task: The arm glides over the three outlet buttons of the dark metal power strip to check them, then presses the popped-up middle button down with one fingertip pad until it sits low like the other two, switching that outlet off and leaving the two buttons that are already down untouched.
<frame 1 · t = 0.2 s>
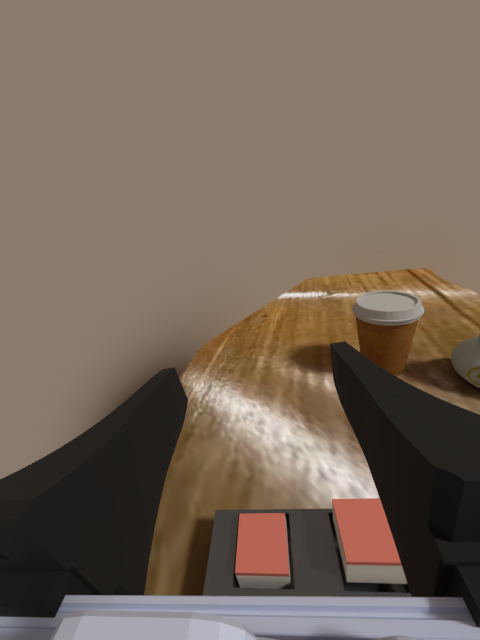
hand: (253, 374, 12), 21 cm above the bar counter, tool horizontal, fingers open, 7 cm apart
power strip: (375, 605, 19), on the bar counter
button c: (264, 550, 21), point 3 cm above the bar counter, slide at 1.8 cm
button b: (366, 538, 19), point 4 cm above the bar counter, slide at 0.0 cm
disposable coffee cup: (382, 366, 44), on the bar counter
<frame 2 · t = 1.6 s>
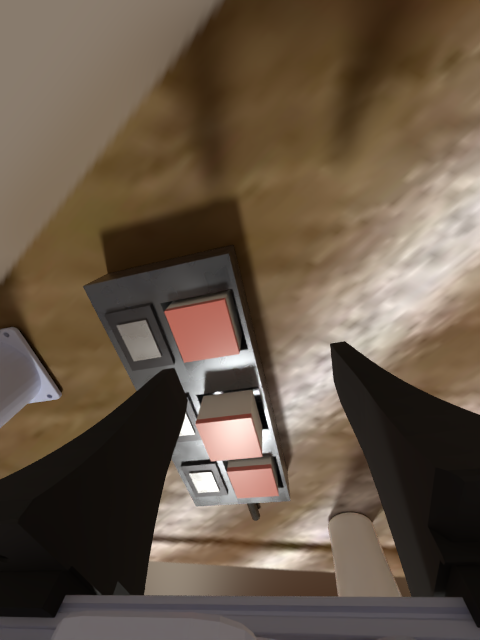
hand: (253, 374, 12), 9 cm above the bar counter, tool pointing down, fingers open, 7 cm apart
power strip: (213, 390, 24), on the bar counter
button c: (206, 323, 18), point 2 cm above the bar counter, slide at 1.8 cm
button a: (253, 469, 25), point 2 cm above the bar counter, slide at 1.8 cm
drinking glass: (348, 520, 32), on the bar counter
button b: (231, 425, 20), point 4 cm above the bar counter, slide at 0.0 cm
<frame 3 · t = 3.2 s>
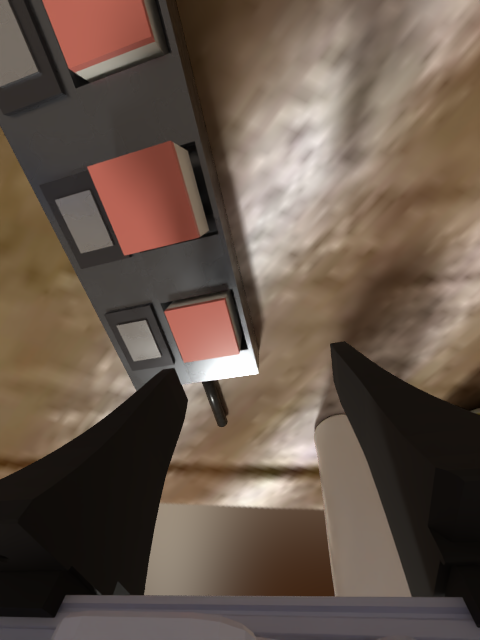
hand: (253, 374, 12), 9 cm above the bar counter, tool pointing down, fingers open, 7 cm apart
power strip: (149, 209, 17), on the bar counter
button c: (105, 9, 11), point 2 cm above the bar counter, slide at 1.8 cm
button a: (206, 323, 18), point 2 cm above the bar counter, slide at 1.8 cm
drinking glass: (340, 429, 25), on the bar counter
button b: (156, 202, 13), point 4 cm above the bar counter, slide at 0.0 cm
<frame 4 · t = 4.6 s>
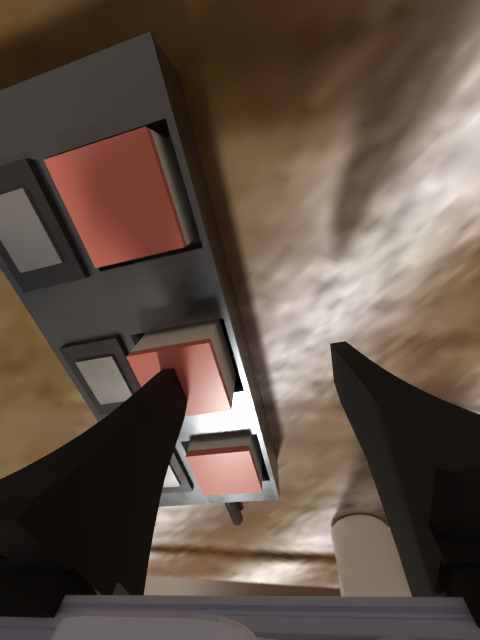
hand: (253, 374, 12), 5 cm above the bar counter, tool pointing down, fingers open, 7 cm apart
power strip: (169, 342, 17), on the bar counter
button c: (134, 204, 11), point 3 cm above the bar counter, slide at 1.8 cm
button a: (227, 454, 17), point 2 cm above the bar counter, slide at 1.8 cm
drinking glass: (357, 524, 25), on the bar counter
button b: (188, 367, 13), point 3 cm above the bar counter, slide at 1.0 cm, touching gripper
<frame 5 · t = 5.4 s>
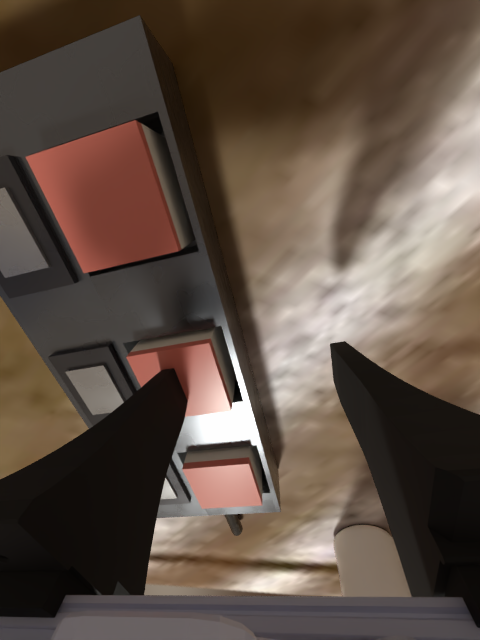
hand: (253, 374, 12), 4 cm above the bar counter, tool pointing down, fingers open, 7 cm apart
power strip: (165, 348, 16), on the bar counter
button c: (125, 205, 10), point 3 cm above the bar counter, slide at 1.8 cm
button a: (226, 466, 17), point 2 cm above the bar counter, slide at 1.8 cm
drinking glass: (360, 534, 24), on the bar counter
button b: (188, 367, 13), point 2 cm above the bar counter, slide at 1.8 cm, touching gripper
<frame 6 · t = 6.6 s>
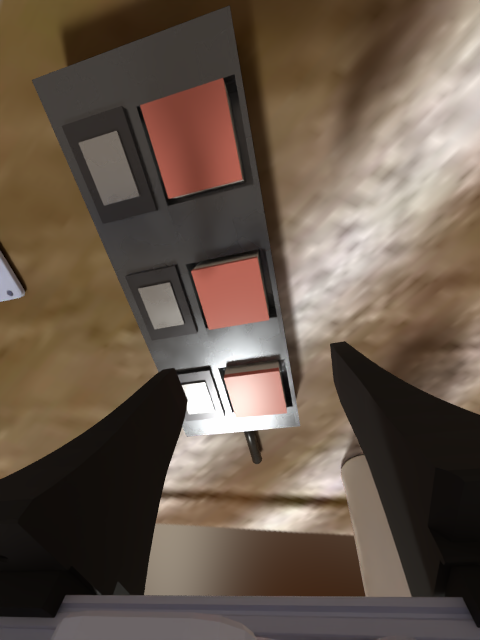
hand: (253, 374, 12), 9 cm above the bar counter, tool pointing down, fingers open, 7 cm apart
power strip: (209, 283, 20), on the bar counter
button c: (199, 148, 14), point 3 cm above the bar counter, slide at 1.8 cm
button a: (256, 383, 20), point 2 cm above the bar counter, slide at 1.8 cm
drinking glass: (364, 466, 27), on the bar counter
button b: (233, 288, 17), point 2 cm above the bar counter, slide at 1.8 cm
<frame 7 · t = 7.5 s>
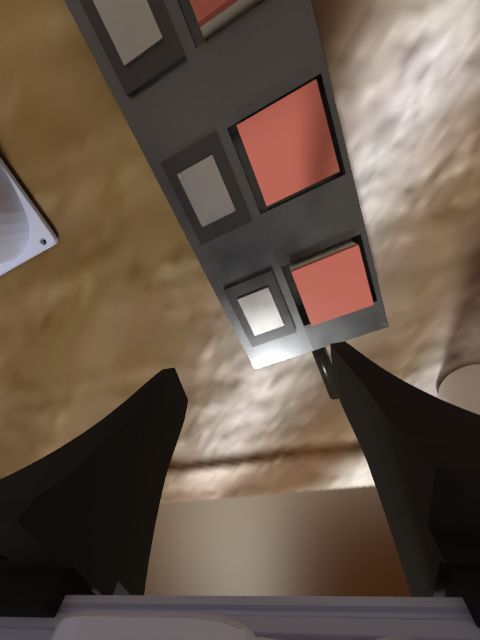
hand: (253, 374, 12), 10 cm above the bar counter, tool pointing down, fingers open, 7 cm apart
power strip: (251, 175, 17), on the bar counter
button a: (328, 281, 17), point 2 cm above the bar counter, slide at 1.8 cm
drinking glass: (465, 383, 23), on the bar counter
button b: (286, 152, 14), point 2 cm above the bar counter, slide at 1.8 cm
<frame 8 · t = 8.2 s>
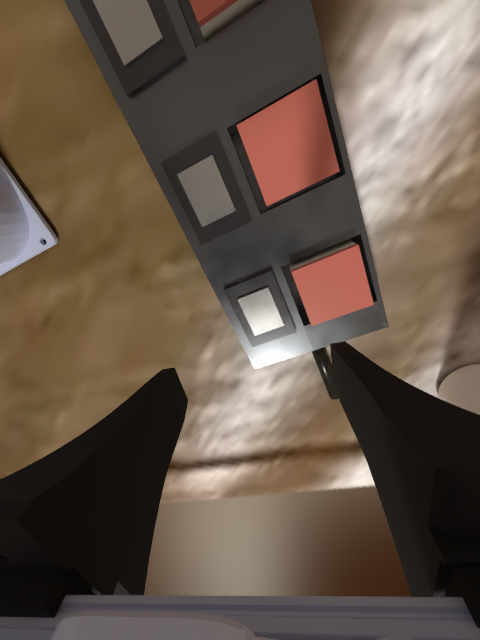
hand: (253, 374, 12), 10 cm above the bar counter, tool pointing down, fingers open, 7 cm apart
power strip: (251, 175, 17), on the bar counter
button a: (328, 281, 17), point 2 cm above the bar counter, slide at 1.8 cm
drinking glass: (465, 383, 23), on the bar counter
button b: (286, 152, 14), point 2 cm above the bar counter, slide at 1.8 cm
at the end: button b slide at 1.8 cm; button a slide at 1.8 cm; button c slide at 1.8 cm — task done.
